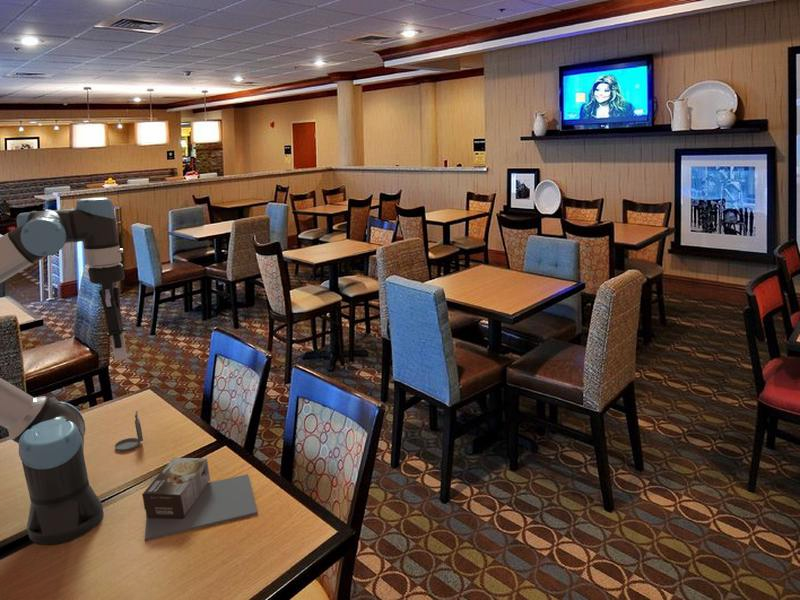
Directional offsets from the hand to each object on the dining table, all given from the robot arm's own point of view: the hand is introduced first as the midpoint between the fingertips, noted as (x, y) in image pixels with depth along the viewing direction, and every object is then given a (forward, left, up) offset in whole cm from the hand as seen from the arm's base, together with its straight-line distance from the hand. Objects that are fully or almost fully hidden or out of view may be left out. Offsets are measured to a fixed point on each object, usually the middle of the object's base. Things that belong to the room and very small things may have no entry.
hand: (121, 358), depth 147 cm
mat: (+14, -20, -32) cm, 41 cm away
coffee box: (+13, -9, -29) cm, 32 cm away
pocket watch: (-3, +19, -33) cm, 38 cm away
